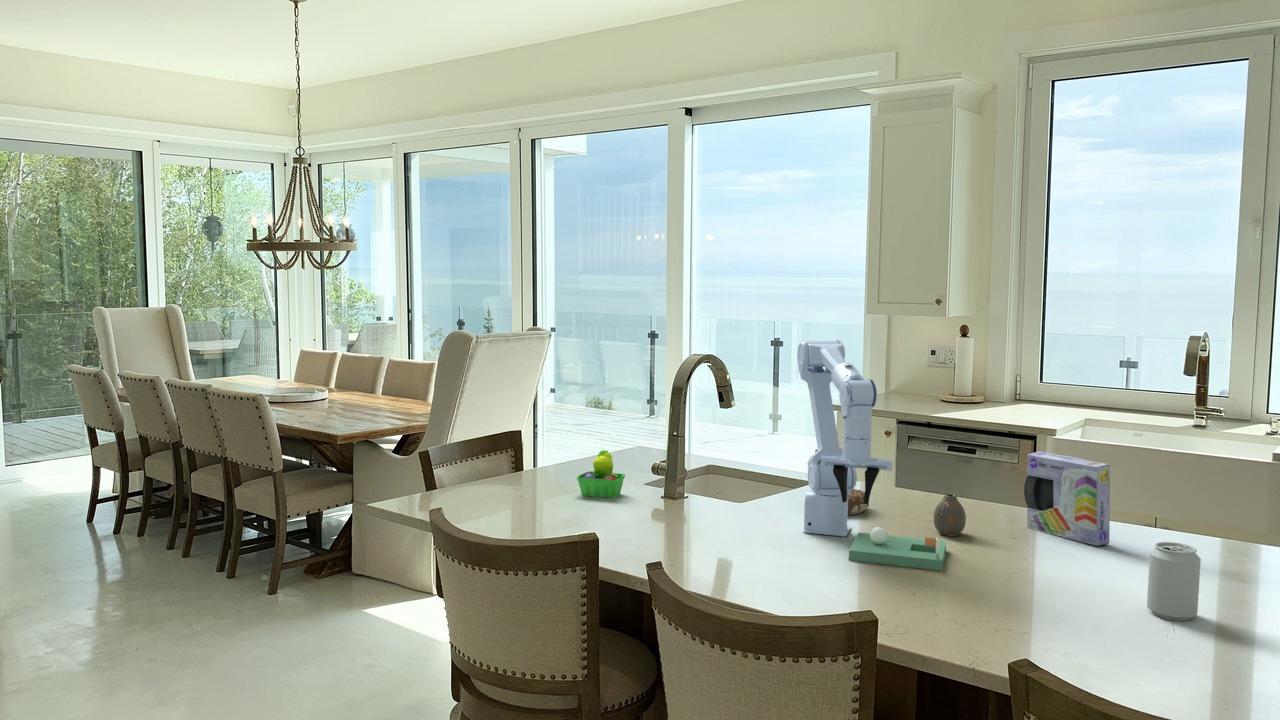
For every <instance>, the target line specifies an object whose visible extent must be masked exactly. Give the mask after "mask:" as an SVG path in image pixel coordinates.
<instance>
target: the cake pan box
mask: <svg viewBox="0 0 1280 720" xmlns="http://www.w3.org/2000/svg"><path fill="white" fill-rule="evenodd" d="M1026 464H1027V468H1026V469H1027V471H1026V474H1027V475H1026V478H1025V481H1024V485H1023V486H1024V487H1023V496H1024V500H1025V504H1026V507H1027V509H1026V510H1027V511H1026V513H1027V516H1026V517H1027V518H1026V519H1027V521H1026V527H1027V528H1029V529H1031V528H1032V529H1031V530H1034V529H1036V530H1035V531H1038V530H1040V531H1039V532H1042V531H1043V532H1042V533H1045V532H1047V533H1046V534H1049V533H1050V534H1049V535H1053V534H1054V535H1053V536H1057V537H1060V536H1061V538H1065V539H1068V540H1071V541H1076V542H1079V543H1084V544H1088V545H1092V546H1096V547H1098V546H1105V545H1109V544H1110V529H1111V528H1110V527H1111V526H1110V517H1111V516H1110V514H1111V513H1110V508H1111V507H1110V504H1111V502H1110V500H1111V499H1110V497H1111V495H1110V491H1111V489H1110V487H1111V485H1110V483H1111V480H1110V479H1111V478H1110V477H1111V476H1110V475H1111V465H1110V464H1109V463H1102V462H1096V461H1093V460H1087V459H1083V458H1080V457H1076V456H1075V457H1074V456H1070V455H1069V456H1068V455H1061V454H1057V453H1050V452H1046V451H1035V452H1032V453H1028V454H1027V463H1026Z"/></svg>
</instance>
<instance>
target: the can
mask: <svg viewBox="0 0 1280 720" xmlns="http://www.w3.org/2000/svg"><path fill="white" fill-rule="evenodd" d="M1197 551H1198V550H1197V548H1195V547H1193V546H1191V545H1189V544H1185V543H1180V542H1174V541H1173V542H1171V541H1159V542H1156V543H1154V548H1153V549H1152V550H1150V552H1149V563H1148V564H1149V565H1148V577H1147V578H1148V580H1147V581H1148V582H1147V583H1148V584H1147V599H1146V607H1147V608H1148V609H1149V610H1150V611H1151V612H1152V614H1153V615H1155V616H1157V617H1159V618H1162V619H1166V620H1171V621H1178V622H1180V621H1181V622H1183V621H1184V622H1185V621H1190V620H1191V619H1193V618H1194V617H1196V616H1197V615H1198V612H1199V611H1198V609H1199V607H1198V606H1199V595H1200V594H1199V593H1200V592H1199V591H1200V580H1201V579H1200V577H1201V563H1202V562H1201V560H1202V559H1201V557H1199V555H1198V554H1197Z"/></svg>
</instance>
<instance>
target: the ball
mask: <svg viewBox="0 0 1280 720" xmlns="http://www.w3.org/2000/svg"><path fill="white" fill-rule="evenodd" d="M869 534H870V538H871V540H872V541H873V542H874V543H876V544H882V543H884V542H885V541H886V540H887V535H888V532H887V530H886V529H885V528H883V527H880V526H876V527H874V528H872V530H871V531H870V533H869Z"/></svg>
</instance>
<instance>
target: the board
mask: <svg viewBox="0 0 1280 720" xmlns="http://www.w3.org/2000/svg"><path fill="white" fill-rule="evenodd" d="M946 551H947V541H946V540H945V541H944V540H940V546H939V559H935V554H936V547H935V546H925V538H917V537H916V538H915V537H905V536H897V535H888V534H887V540H886V541H885V542H884V543H882V544H876V543H874V542H873V541H872V540H871V538H870V533H869V532H868V533H867V532H858V533H857V535H856V537H855V539H854V540H853V542H852V544H851V546H850V547H849V550H848V561H855V562H864V563H873V564H881V565H889V566H899V567H907V568H908V567H909V568H915V569H916V568H917V569H925V570H934V571H943V566H944V562H945V561H944V560H945V557H946Z"/></svg>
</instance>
